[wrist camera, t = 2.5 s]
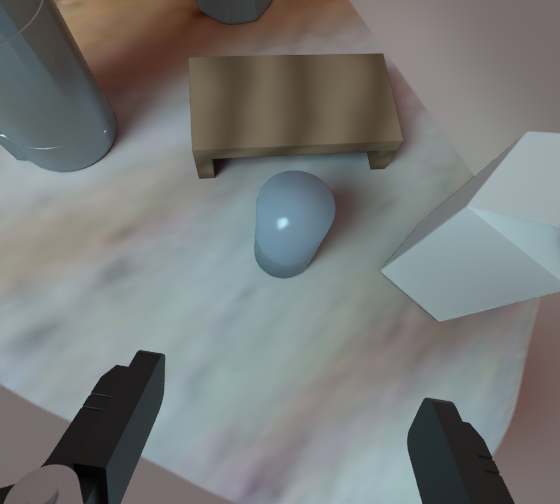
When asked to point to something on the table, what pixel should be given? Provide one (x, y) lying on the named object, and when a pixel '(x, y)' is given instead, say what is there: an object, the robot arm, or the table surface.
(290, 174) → the blue dome-topped cylinder
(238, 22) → the coffeepot
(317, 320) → the table surface
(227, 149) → the shelf
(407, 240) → the milk carton
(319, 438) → the table surface
